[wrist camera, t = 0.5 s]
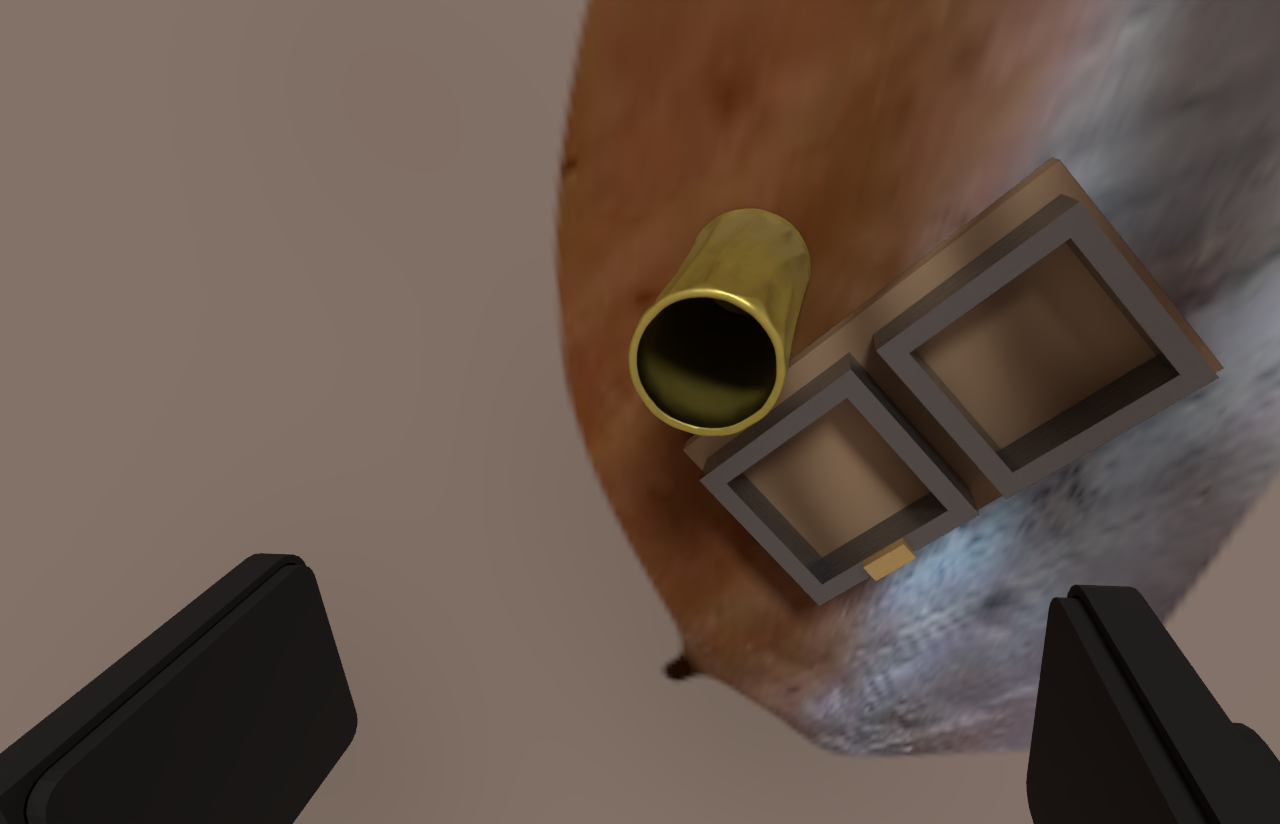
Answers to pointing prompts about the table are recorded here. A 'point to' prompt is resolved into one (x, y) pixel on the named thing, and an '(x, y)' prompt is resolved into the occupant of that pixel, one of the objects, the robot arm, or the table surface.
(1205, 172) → the table surface
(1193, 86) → the table surface
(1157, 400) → the two-cubby wall shelf
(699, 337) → the vase
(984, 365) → the board
